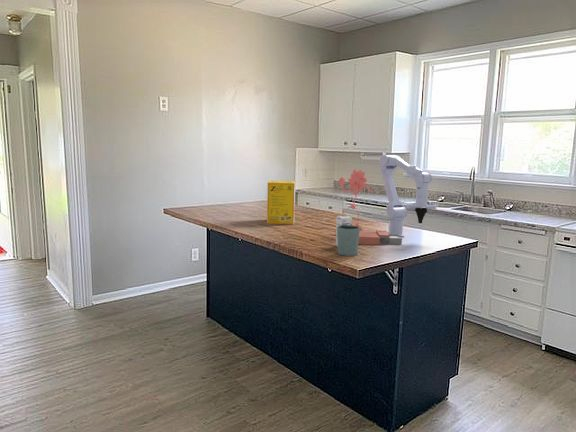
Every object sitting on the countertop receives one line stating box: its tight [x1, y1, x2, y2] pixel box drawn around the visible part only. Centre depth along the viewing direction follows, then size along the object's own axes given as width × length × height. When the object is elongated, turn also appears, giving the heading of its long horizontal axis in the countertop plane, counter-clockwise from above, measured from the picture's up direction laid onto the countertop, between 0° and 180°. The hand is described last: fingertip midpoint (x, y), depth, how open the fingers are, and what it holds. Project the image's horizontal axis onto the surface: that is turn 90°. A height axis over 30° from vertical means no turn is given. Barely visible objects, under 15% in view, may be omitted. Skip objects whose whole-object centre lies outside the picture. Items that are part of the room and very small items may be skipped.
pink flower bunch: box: [338, 169, 374, 231], centre depth 244 cm, size 15×26×35 cm, turn 38°
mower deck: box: [358, 229, 403, 246], centre depth 224 cm, size 16×21×4 cm
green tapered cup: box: [337, 225, 361, 257], centre depth 195 cm, size 10×10×12 cm
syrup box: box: [335, 215, 353, 247], centre depth 209 cm, size 6×6×14 cm
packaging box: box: [266, 180, 296, 225], centre depth 275 cm, size 16×16×25 cm
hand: (420, 222), depth 225 cm, fingers closed
